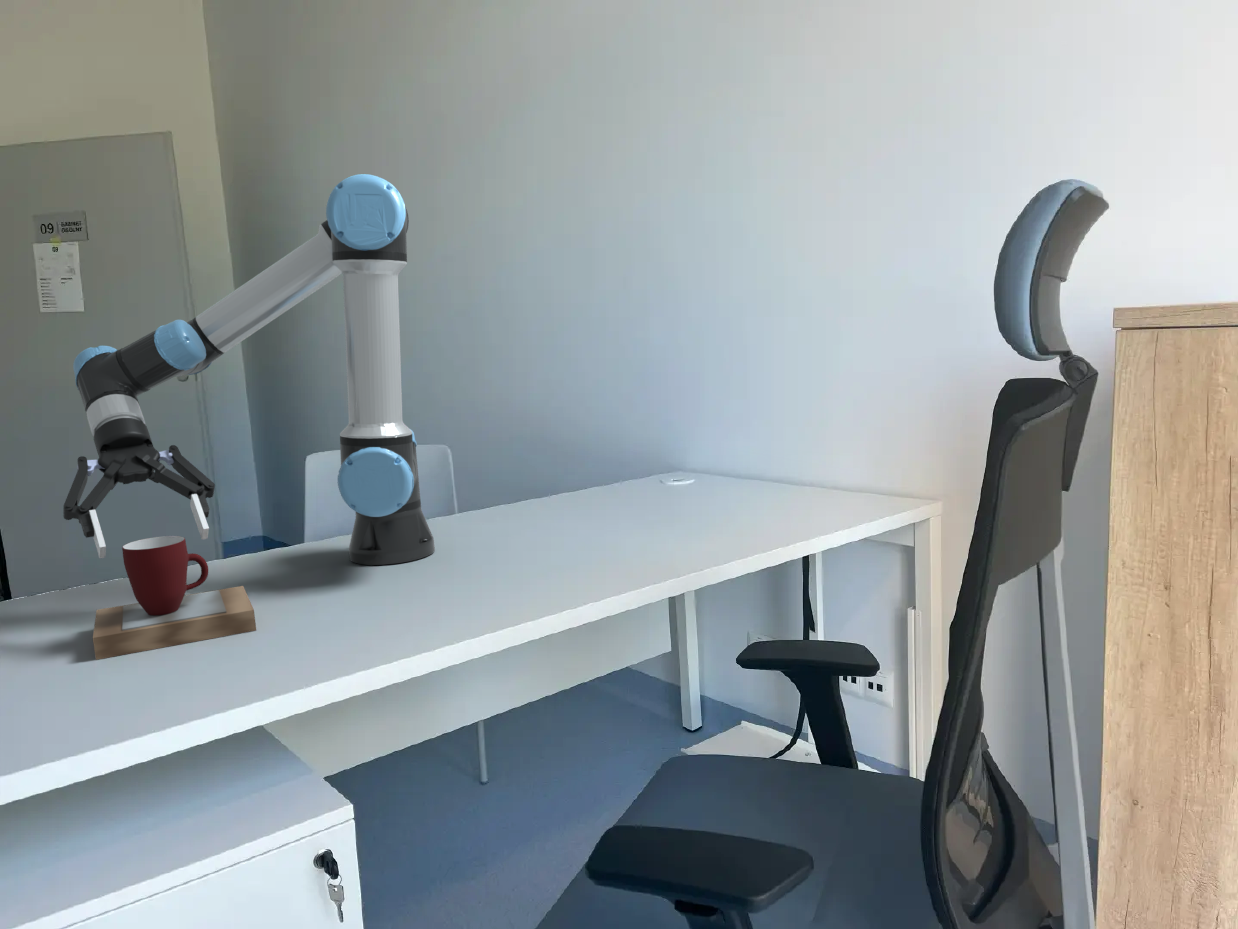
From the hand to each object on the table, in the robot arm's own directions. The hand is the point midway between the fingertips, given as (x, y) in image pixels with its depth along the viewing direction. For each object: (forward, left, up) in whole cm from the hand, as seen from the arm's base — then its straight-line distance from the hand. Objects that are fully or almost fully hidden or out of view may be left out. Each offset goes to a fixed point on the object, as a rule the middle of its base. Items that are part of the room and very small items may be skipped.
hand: (155, 543), depth 138 cm
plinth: (-1, +2, -12) cm, 13 cm away
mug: (-1, +3, -9) cm, 10 cm away
